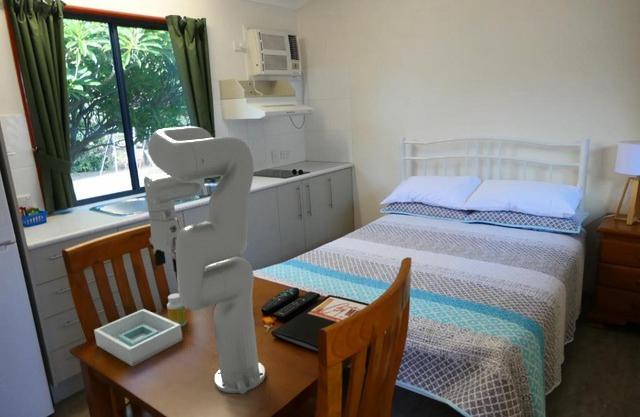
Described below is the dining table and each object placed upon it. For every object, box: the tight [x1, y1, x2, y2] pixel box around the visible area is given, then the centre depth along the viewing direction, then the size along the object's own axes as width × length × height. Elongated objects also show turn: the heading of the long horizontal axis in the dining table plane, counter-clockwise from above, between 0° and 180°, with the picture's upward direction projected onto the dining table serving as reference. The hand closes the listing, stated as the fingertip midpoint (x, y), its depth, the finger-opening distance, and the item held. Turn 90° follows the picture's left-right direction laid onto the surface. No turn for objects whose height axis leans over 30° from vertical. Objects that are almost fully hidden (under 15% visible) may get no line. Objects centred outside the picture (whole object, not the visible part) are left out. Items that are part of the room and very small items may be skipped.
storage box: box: [93, 308, 184, 367], centre depth 130 cm, size 20×16×5 cm
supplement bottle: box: [166, 292, 188, 327], centre depth 140 cm, size 5×5×10 cm
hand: (169, 267), depth 136 cm, fingers open, 9 cm apart
